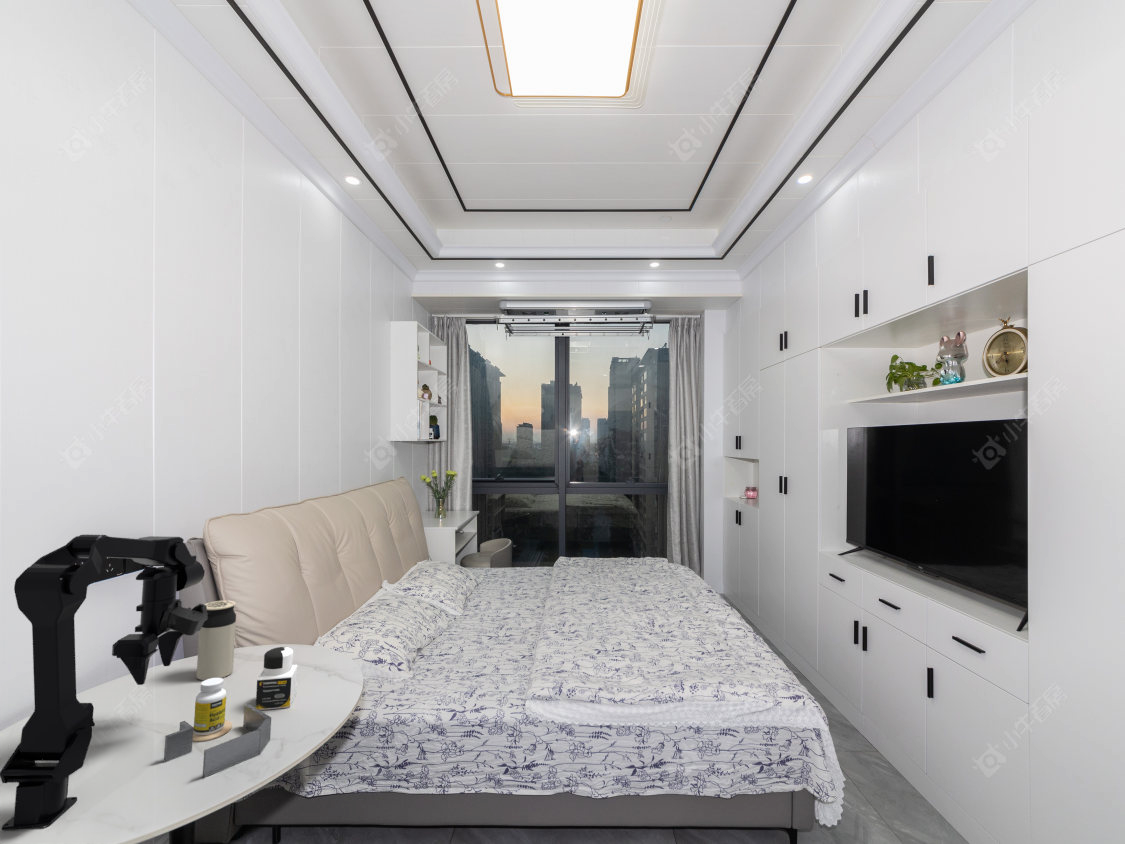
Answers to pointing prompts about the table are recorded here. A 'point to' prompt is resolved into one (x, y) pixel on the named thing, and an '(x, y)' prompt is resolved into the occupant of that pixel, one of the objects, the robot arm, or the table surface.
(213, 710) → the supplement bottle
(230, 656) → the travel mug
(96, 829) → the table surface
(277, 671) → the medicine bottle
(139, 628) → the robot arm
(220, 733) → the coaster
